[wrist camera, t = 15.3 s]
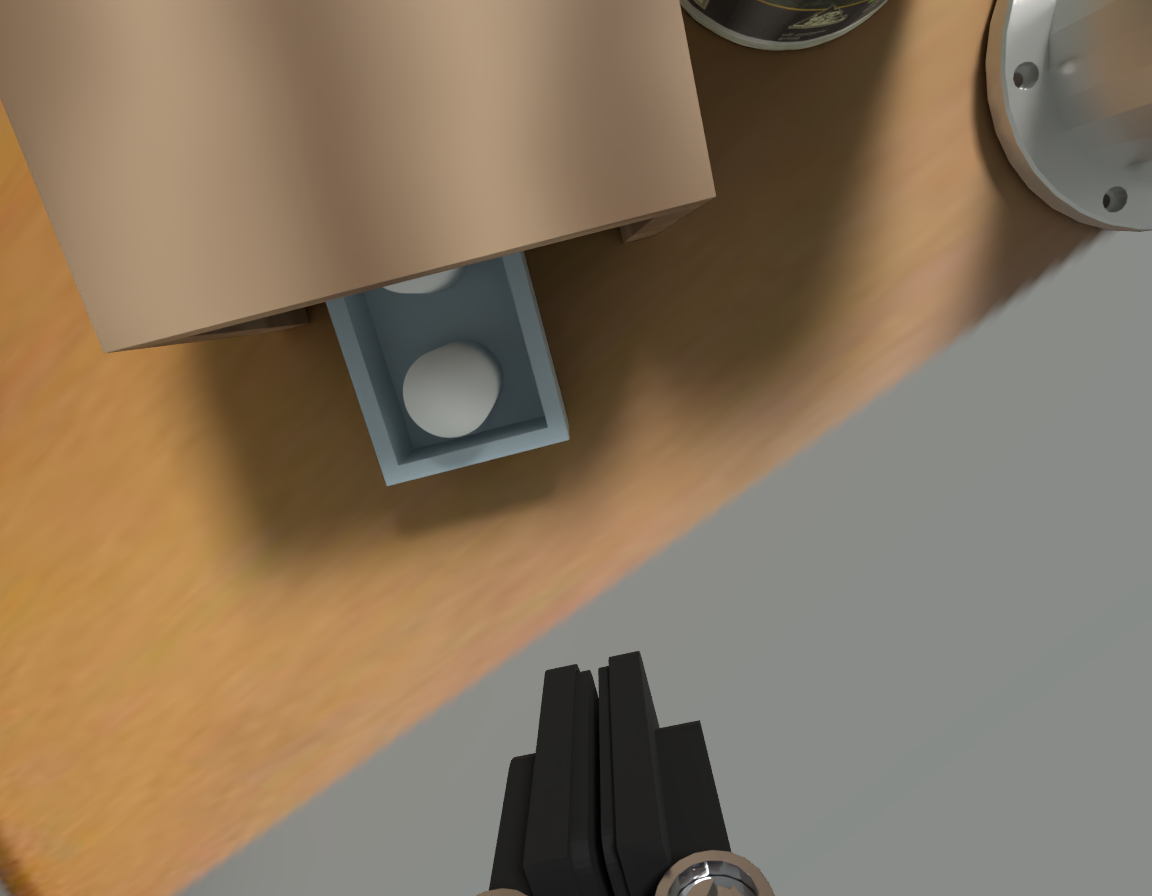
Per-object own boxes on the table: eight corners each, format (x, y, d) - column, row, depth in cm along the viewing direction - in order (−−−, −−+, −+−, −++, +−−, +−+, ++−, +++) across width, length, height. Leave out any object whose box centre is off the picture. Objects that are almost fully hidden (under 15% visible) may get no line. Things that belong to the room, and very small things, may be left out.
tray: (498, 156, 24) (483, 120, 19) (568, 420, 26) (570, 449, 21) (325, 202, 24) (267, 179, 19) (409, 461, 26) (375, 499, 22)
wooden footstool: (604, -1, 23) (638, -219, 13) (654, 235, 25) (716, 196, 15) (202, 106, 23) (-51, -28, 14) (279, 331, 25) (103, 353, 15)
